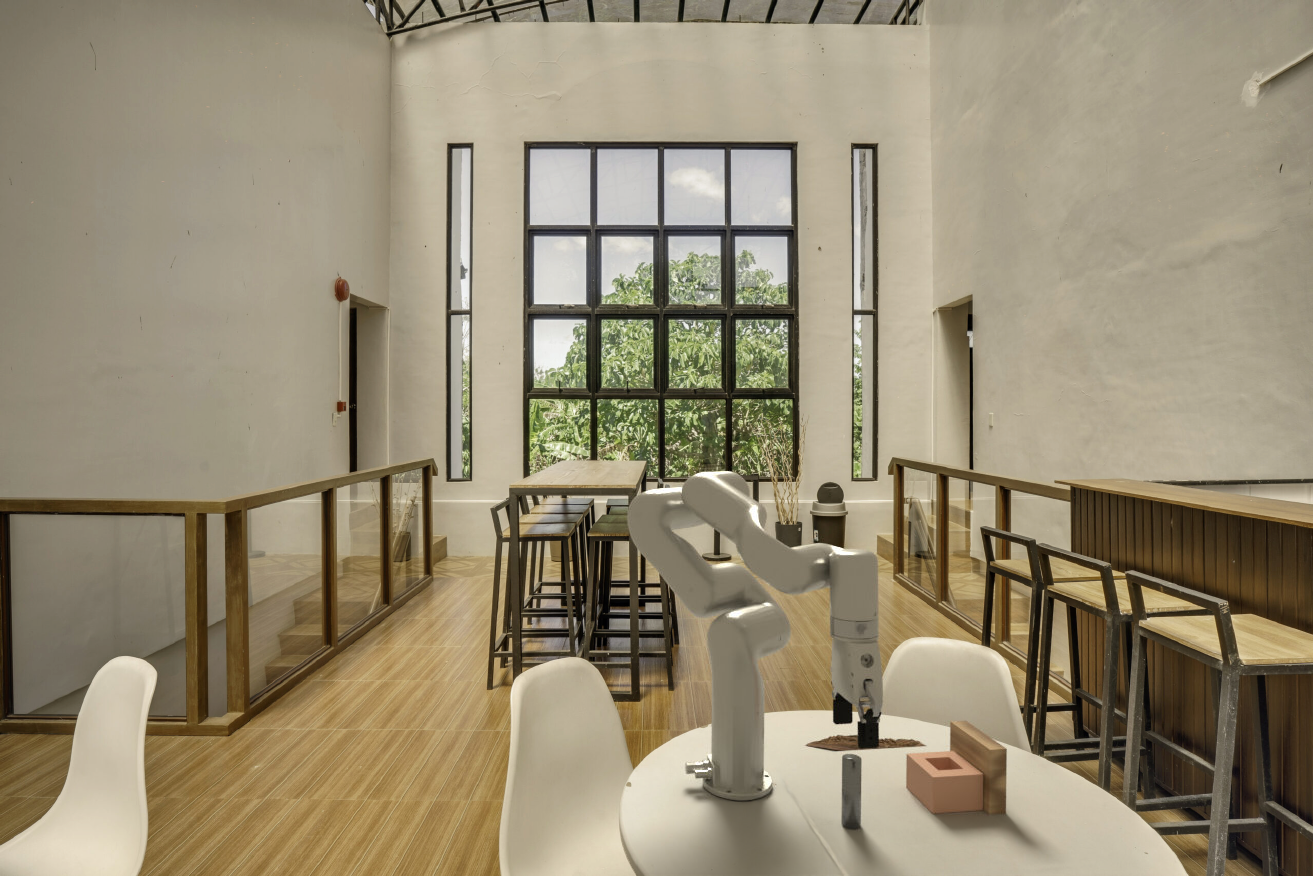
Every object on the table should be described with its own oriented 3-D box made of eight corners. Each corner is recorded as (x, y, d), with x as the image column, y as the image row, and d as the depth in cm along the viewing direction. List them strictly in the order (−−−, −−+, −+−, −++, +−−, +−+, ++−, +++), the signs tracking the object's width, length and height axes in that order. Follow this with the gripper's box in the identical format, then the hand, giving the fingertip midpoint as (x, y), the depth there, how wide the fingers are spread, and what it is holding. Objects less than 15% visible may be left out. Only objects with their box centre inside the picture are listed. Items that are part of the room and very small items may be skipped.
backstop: (989, 816, 120) (990, 749, 120) (949, 782, 132) (950, 721, 132) (1005, 815, 121) (1006, 748, 121) (965, 781, 133) (965, 720, 133)
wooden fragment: (931, 743, 152) (931, 738, 152) (942, 766, 141) (942, 761, 141) (805, 733, 157) (805, 729, 157) (806, 755, 146) (806, 750, 146)
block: (932, 813, 120) (933, 777, 120) (906, 787, 129) (906, 753, 129) (982, 810, 122) (983, 774, 122) (953, 784, 131) (953, 751, 131)
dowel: (845, 838, 115) (846, 762, 115) (838, 828, 118) (839, 754, 118) (863, 837, 116) (864, 761, 116) (856, 827, 119) (856, 753, 118)
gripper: (902, 640, 109) (903, 756, 108) (854, 614, 126) (854, 714, 126) (854, 643, 108) (855, 759, 107) (812, 616, 125) (813, 716, 124)
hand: (855, 735), depth 116 cm, fingers open, 9 cm apart
